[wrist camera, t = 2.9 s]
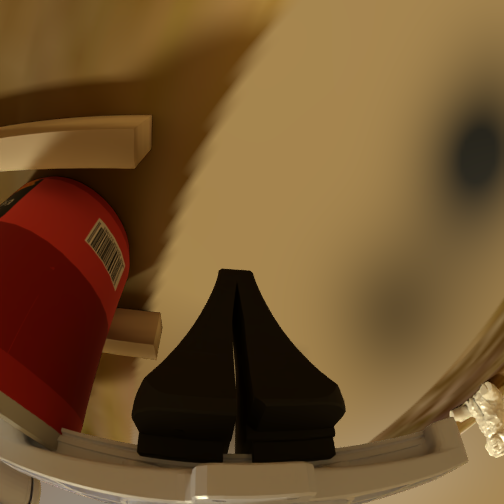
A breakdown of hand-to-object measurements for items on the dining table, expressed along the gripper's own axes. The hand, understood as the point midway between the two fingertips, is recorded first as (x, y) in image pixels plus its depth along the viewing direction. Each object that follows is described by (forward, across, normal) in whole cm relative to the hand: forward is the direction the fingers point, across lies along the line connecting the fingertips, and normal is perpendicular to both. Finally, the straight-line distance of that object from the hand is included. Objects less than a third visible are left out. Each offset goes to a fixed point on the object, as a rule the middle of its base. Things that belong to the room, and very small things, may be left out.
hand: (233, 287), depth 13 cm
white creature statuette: (+3, -40, +24) cm, 47 cm away
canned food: (+3, +9, 0) cm, 10 cm away
